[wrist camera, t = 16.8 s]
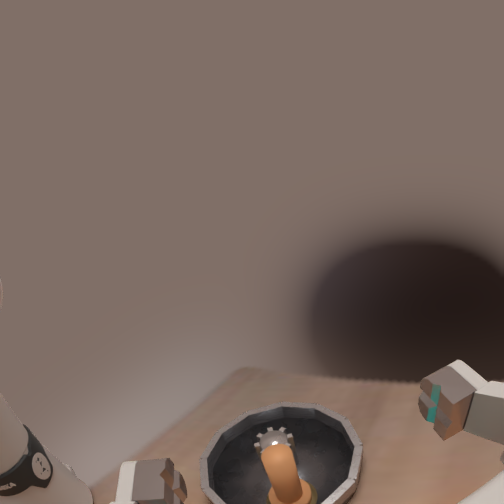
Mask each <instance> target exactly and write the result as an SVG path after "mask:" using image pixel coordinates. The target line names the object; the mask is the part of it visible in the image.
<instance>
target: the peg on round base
mask: <svg viewBox="0 0 504 504" xmlns="http://www.w3.org/2000/svg"><path fill="white" fill-rule="evenodd" d="M261 460H262V462H263V465H264V467H265V470H266V472H267V475H268V477H269V480H270V482H271V484H272V487H271V489H270V491H269V500H270V502H271V504H310V503H311V500H312V493H311V489H310V486H309V484H308V483H307V482H306V481H304V480H302V479H300V478H299V475H298V472H297V468H296V464H295V460H294V457H293V453H292V450H291V448H290V447H289V446H287V445H284V444H274V445H271V446H269V447H267V448H266V449H265V450H264V451H263V452H262V455H261Z"/></svg>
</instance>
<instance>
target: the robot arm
mask: <svg viewBox="0 0 504 504" xmlns="http://www.w3.org/2000/svg"><path fill="white" fill-rule="evenodd" d="M2 300H3V288H2V281H1V277H0V311H1V306H2ZM420 388H421V389H422V390H423V392H422V393H421V395H420V396H419V403H418V405H419V409H420V412H421V414H422V416H423V417H424V418H425V420H426V421H429V422H432V423H434V428H433V429H434V430H435V431H436V433H437V434H438V435H439V436H440V437H441V438H442V440H443V441H444V440H446V439H448V438H450V437H451V436H453V435H455V434H457V433H458V432H460V431H462V430H463V429H464V430H463V431H466V432H469V433H471V434H474V435H477V436H480V437H482V438H485V439H488V440H491V441H494V442H497V443H500V444H503V445H504V383H501V382H495V381H490V382H489V383H488V382H487V381H486V380H485V379H483V378H482V377H481V376H480V375H479V374H477V373H476V372H475V371H474V370H472V369H471V368H470V367H469V366H468V365H466V364H465V363H464V362H463V361H461V360H457V361H455V362H453V363H451V364H449V365H447V366H446V367H443V368H442V369H440V370H438V371H436V372H434V373H432V374H431V375H429V376H427V377H425V378H423V379H422V381H421V385H420ZM500 460H501V461H502V462H503V464H504V451H503V453H502V455H501V458H500ZM186 498H187V489H186V485H185V481H184V479H183V477H182V475H181V474H180V472H178V471H176V470H174V464H173V462H172V461H171V460H170V458H164V459H154V460H142V461H130V462H123V464H122V465H121V468H120V474H119V480H118V486H117V493H116V500H115V502H111V503H110V504H184V503H183V502H184V501H185V499H186ZM0 504H93V498H92V494H91V492H90V490H89V488H88V487H87V485H86V484H85V483H84V482H82V481H81V480H80V479H78V478H77V477H76V476H75V473H74V471H73V469H72V468H71V467H70V466H69V465H68V464H62V463H61V462H60V461H59V460H58V459H57V458H56V457H55V456H54V455H53V454H52V453H51V452H50V451H49V450H48V449H47V448H46V447H45V446H44V445H43V444H41V443H40V442H39V441H38V440H37V437H36V436H35V435H34V434H33V433H32V432H31V431H30V430H29V429H28V427H26V426H25V425H23V424H22V423H21V422H20V421H19V419H18V418H17V416H16V415H15V413H14V412H13V411H12V409H11V408H10V406H9V405H8V403H7V402H6V400H5V399H4V397H3V396H2V394H1V393H0ZM457 504H504V470H503V471H501V472H500V473H499V474H498V475H496V476H495V477H494V478H492V479H491V480H490V481H488V482H487V483H486V484H484V485H483V486H482V487H480V488H479V489H477V490H476V491H475V492H473V493H472V494H470V495H469V496H467V497H466V498H464V499H463V500H461V501H460V502H458V503H457Z"/></svg>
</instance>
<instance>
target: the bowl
mask: <svg viewBox="0 0 504 504" xmlns="http://www.w3.org/2000/svg"><path fill="white" fill-rule="evenodd" d="M217 431H218V432H216V433H215V434H214V436H213V437H212V439H211V441H210V442H209V444H208V446H207V447H206V449H205V450H204V452H203V453H202V455H201V457H200V477H201V489H202V491H203V492H204V494H205V495H206V496H207V498H208V499H209V500H210V501H211V502H212V503H213V504H271V502H270V500H269V491H270V489H271V487H272V484H271V482H270V480H269V477H268V475H267V472H266V470H265V467H264V465H263V462H262V460H261V455H262V452H263V451H264V450H265V449H266V448H267V447H269V446H271V445H274V444H284V445H287V446H289V447H290V448H291V450H292V453H293V457H294V460H295V464H296V468H297V472H298V475H299V478H300V479H302V480H304V481H306V482H307V483H308V484H309V486H310V489H311V493H312V500H311V503H310V504H347V503H348V501H349V500H350V499H351V497H352V496H353V494H354V492H355V490H356V488H357V485H358V482H359V478H360V470H361V463H362V458H363V444H362V442H361V441H360V439H359V437H358V435H357V434H356V432H355V430H354V428H353V427H352V425H351V423H350V422H349V420H348V418H347V417H345V416H342V415H340V414H338V413H336V412H334V411H332V410H330V409H328V408H326V407H324V406H322V405H320V404H317V403H298V402H282V404H281V402H278V403H275V404H271V405H268V406H264V407H260V408H257V409H253V410H249V411H247V413H246V412H244V413H243V414H241V415H240V416H238V417H237V418H235V419H234V420H232V421H231V422H229V423H228V424H226V425H225V426H223V427H222V428H220V429H219V430H217Z"/></svg>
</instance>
